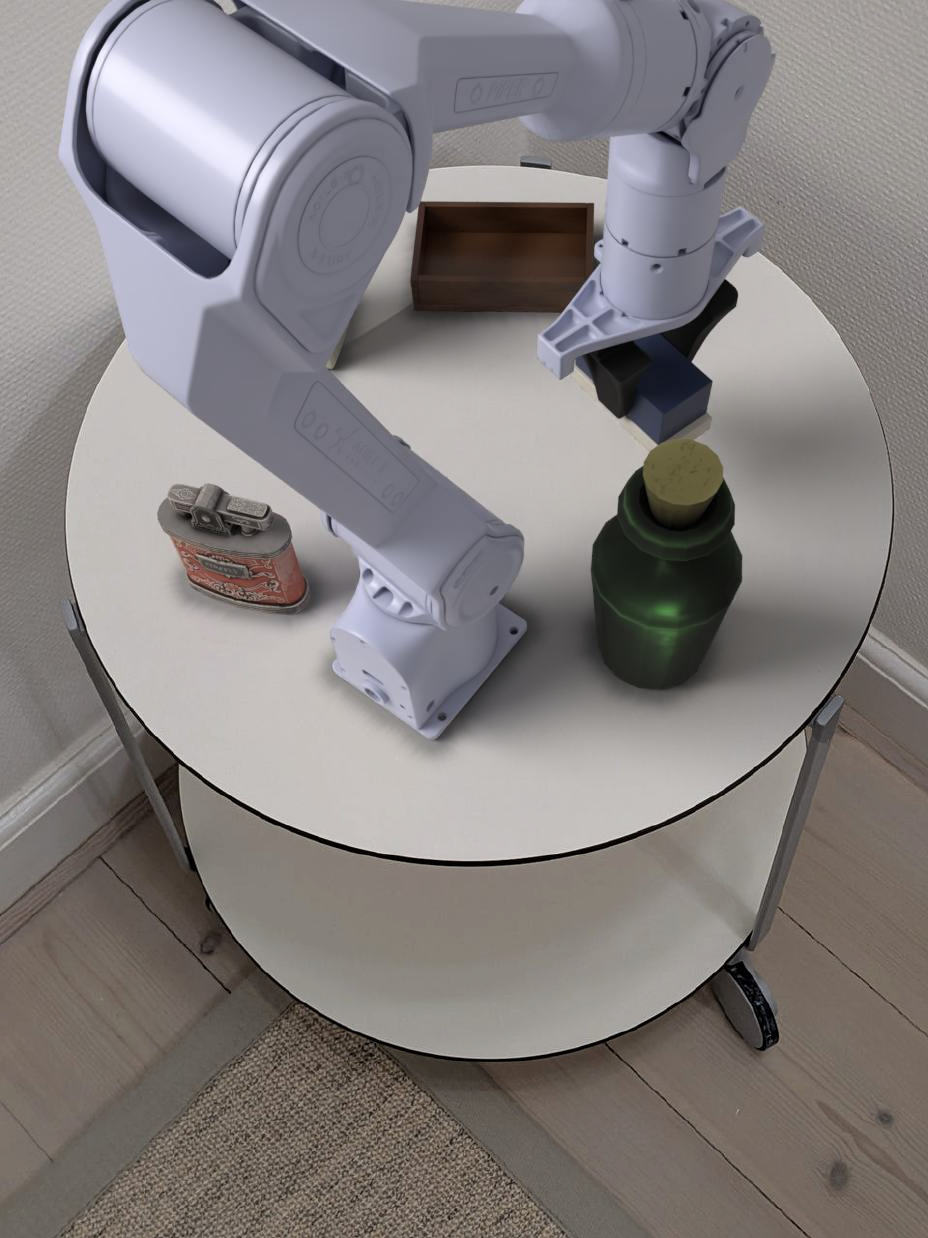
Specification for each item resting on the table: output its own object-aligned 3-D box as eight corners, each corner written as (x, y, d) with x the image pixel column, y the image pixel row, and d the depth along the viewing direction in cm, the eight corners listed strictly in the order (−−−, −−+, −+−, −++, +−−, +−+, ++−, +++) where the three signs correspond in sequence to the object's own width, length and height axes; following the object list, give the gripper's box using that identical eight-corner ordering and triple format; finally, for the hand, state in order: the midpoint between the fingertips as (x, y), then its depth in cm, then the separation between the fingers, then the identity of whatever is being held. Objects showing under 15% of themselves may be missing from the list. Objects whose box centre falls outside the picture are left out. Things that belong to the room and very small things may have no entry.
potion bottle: (666, 730, 72) (703, 576, 56) (556, 651, 75) (562, 482, 59) (747, 633, 75) (804, 459, 59) (638, 560, 77) (664, 375, 61)
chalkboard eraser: (710, 429, 75) (720, 384, 71) (660, 463, 74) (667, 420, 70) (618, 344, 78) (622, 297, 74) (568, 376, 77) (570, 330, 73)
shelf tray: (592, 233, 90) (594, 202, 88) (590, 312, 87) (592, 282, 84) (422, 231, 91) (418, 200, 89) (413, 309, 88) (410, 279, 85)
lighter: (180, 593, 78) (134, 506, 69) (201, 548, 79) (159, 457, 71) (299, 623, 76) (269, 538, 68) (318, 577, 78) (290, 488, 69)
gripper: (714, 109, 66) (686, 289, 78) (499, 239, 62) (504, 407, 74) (809, 182, 63) (765, 357, 75) (589, 323, 59) (580, 483, 71)
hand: (640, 387), depth 74 cm, fingers closed on chalkboard eraser, 4 cm apart
